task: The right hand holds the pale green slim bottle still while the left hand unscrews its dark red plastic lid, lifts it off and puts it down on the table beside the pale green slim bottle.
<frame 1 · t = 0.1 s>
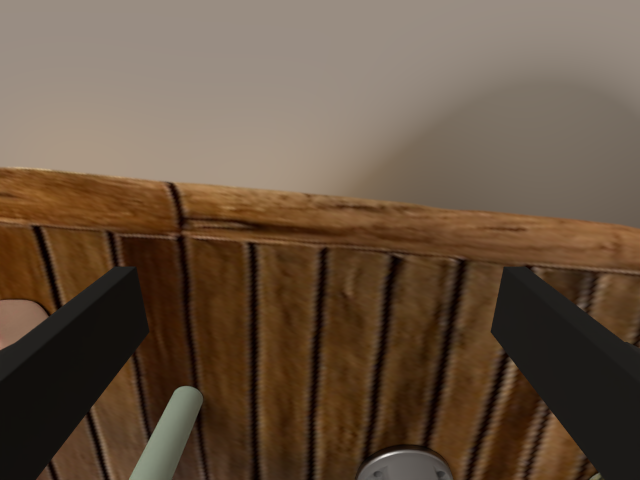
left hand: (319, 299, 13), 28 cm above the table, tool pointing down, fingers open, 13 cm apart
anatomical model: (17, 338, 47), on the table
pale green slim bottle: (188, 397, 50), on the table
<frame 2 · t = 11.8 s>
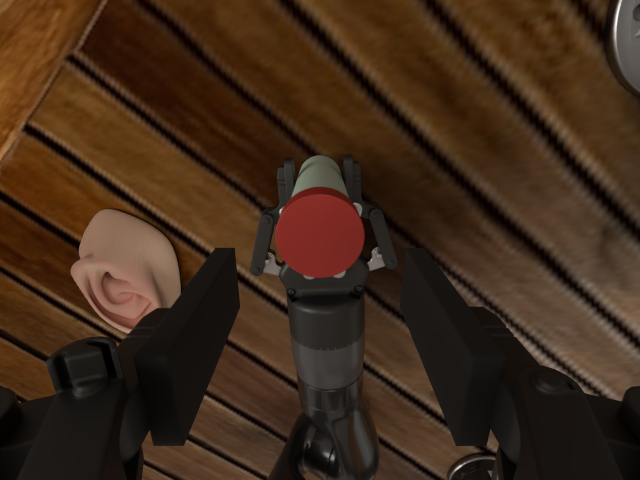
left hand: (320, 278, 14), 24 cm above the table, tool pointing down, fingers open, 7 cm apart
right hand: (317, 158, 29), fingers closed on pale green slim bottle, 4 cm apart
anatomical model: (133, 266, 40), on the table
lid: (320, 235, 19), point 18 cm above the table, screwed on, not yet turned
pale green slim bottle: (319, 176, 36), on the table, touching right hand
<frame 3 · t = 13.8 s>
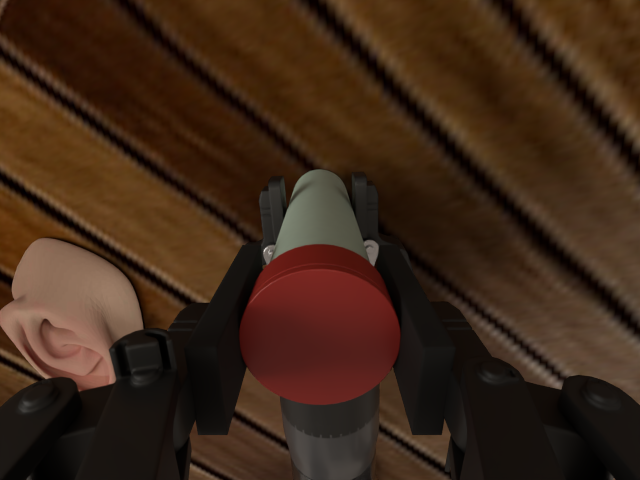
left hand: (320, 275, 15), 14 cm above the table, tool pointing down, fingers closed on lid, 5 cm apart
anatomical model: (82, 308, 32), on the table
lid: (319, 335, 11), point 18 cm above the table, screwed on, not yet turned, touching left hand
pale green slim bottle: (320, 196, 28), on the table, touching right hand
when the left hand's fingers open (15 cm above the table, at t = 15.0 s): lid stays where it is, point 19 cm above the table.
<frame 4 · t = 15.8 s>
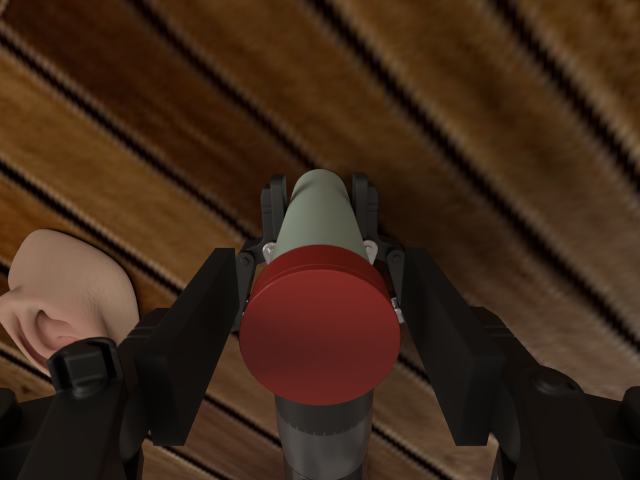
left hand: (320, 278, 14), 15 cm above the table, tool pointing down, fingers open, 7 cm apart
anatomical model: (79, 300, 32), on the table
lid: (319, 336, 11), point 19 cm above the table, turned 86° so far, risen 0.2 cm, still on its thread
pale green slim bottle: (319, 195, 28), on the table, touching right hand
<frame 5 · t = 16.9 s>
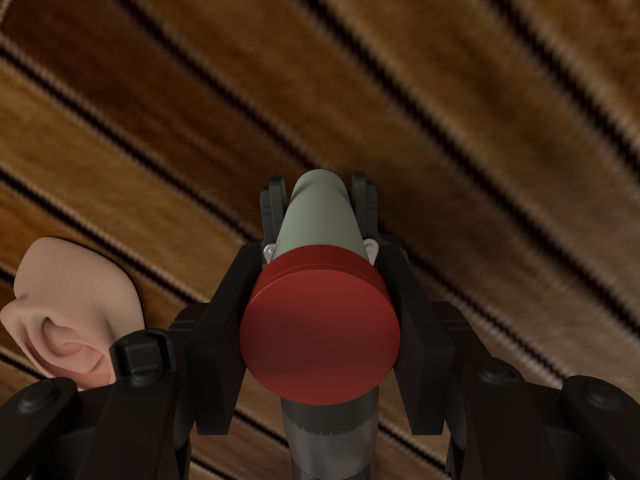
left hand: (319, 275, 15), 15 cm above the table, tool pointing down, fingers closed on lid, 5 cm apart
anatomical model: (84, 307, 32), on the table
lid: (319, 336, 11), point 19 cm above the table, turned 86° so far, risen 0.2 cm, still on its thread, touching left hand
pale green slim bottle: (319, 195, 28), on the table, touching right hand
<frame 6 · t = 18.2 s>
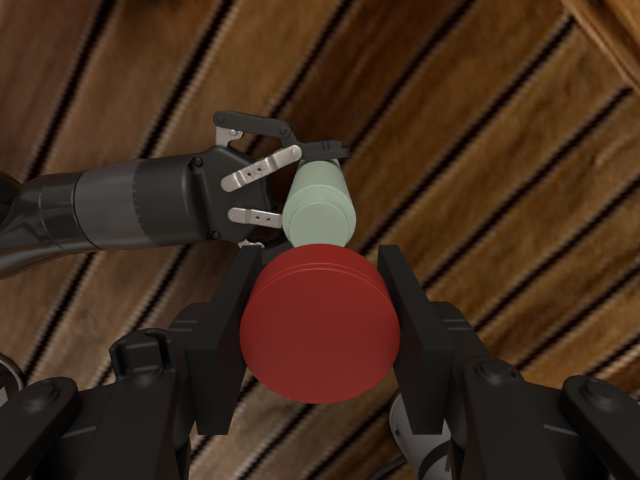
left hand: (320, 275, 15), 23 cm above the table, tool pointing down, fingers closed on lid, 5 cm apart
right hand: (350, 180, 29), fingers closed on pale green slim bottle, 4 cm apart
lid: (319, 334, 11), point 27 cm above the table, off its thread, touching left hand
pale green slim bottle: (319, 170, 36), on the table, touching right hand
when the left hand's fingers open (0 cm above the table, at t = 24.4 s): lid drops 3 cm, point 2 cm above the table.
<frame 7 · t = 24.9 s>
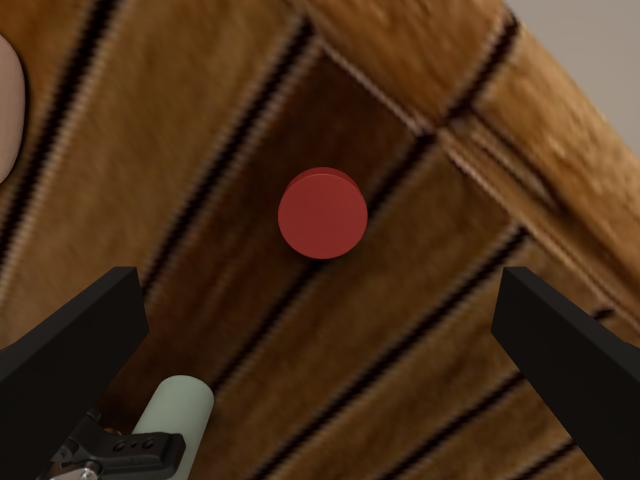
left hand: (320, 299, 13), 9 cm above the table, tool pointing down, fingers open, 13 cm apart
lid: (322, 216, 19), point 2 cm above the table, off its thread
pale green slim bottle: (185, 397, 26), on the table, touching right hand
when the right hand's fingers open (7 cm above the table, at t = 24.9 s): pale green slim bottle stays where it is, on the table.
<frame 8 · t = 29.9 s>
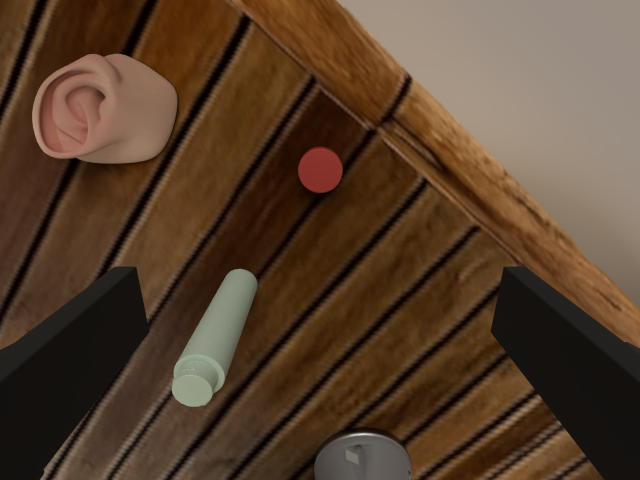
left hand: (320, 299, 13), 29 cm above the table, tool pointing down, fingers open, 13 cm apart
anatomical model: (117, 112, 38), on the table
lid: (320, 170, 38), point 2 cm above the table, off its thread
pale green slim bottle: (240, 283, 45), on the table
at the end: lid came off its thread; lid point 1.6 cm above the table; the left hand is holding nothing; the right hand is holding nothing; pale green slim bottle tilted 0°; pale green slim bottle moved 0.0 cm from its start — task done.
